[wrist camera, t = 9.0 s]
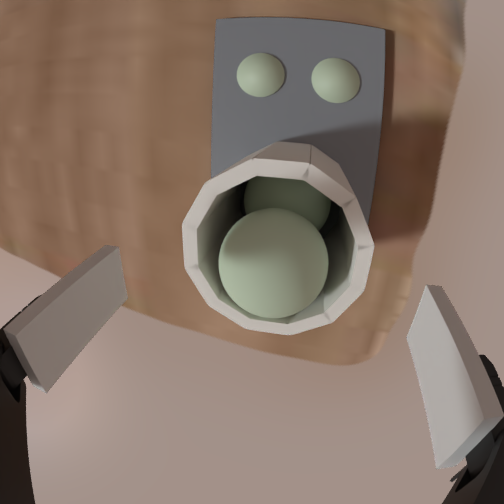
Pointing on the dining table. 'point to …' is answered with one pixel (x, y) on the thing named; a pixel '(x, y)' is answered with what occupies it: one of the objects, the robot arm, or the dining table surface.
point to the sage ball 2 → (273, 263)
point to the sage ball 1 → (287, 198)
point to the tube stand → (292, 148)
